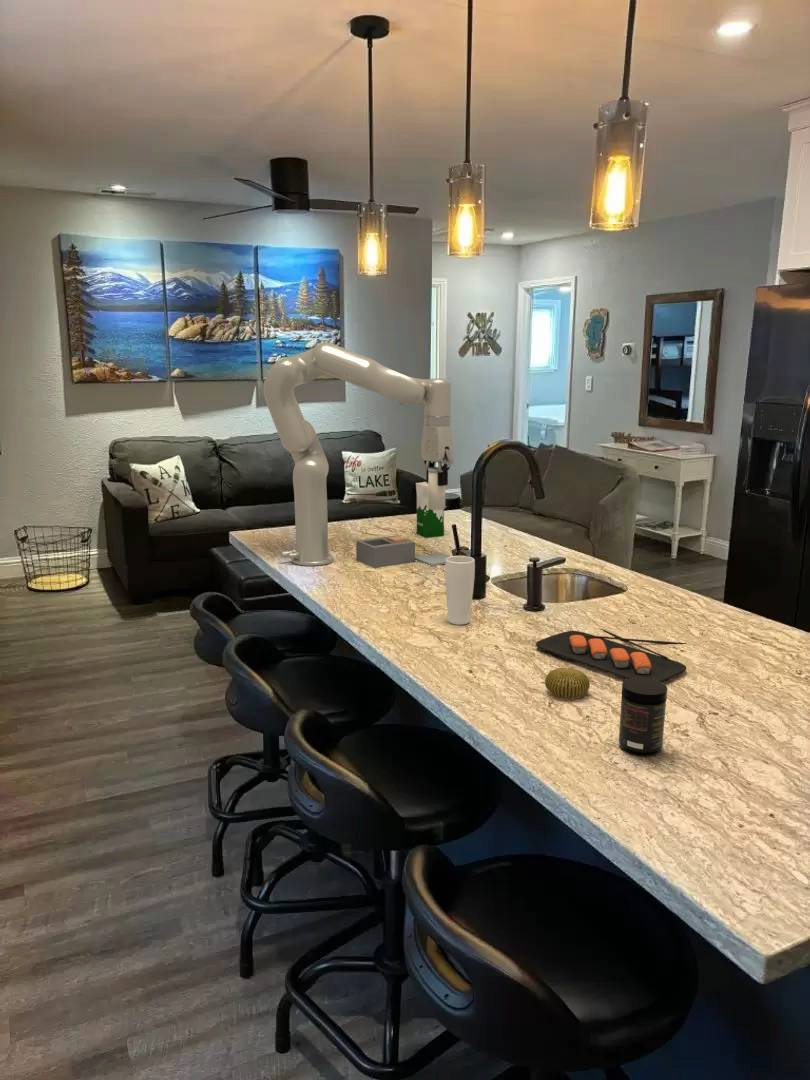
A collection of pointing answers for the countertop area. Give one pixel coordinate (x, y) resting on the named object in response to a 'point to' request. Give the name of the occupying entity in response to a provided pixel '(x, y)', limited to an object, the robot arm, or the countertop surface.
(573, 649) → the sushi plate
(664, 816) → the countertop surface
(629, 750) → the supplement container
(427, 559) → the mat
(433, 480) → the cartridge
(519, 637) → the countertop surface
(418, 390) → the robot arm
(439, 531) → the milk carton
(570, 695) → the sculpture
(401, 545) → the box
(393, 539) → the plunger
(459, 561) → the drinking glass
